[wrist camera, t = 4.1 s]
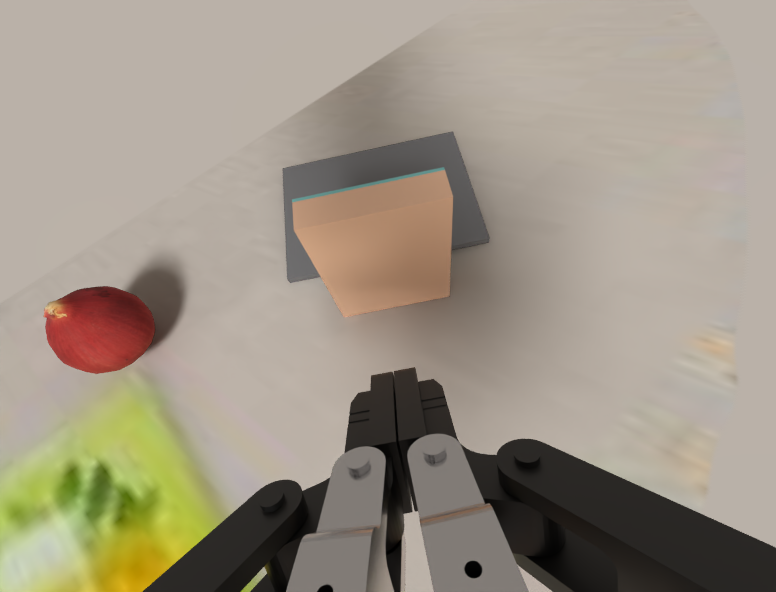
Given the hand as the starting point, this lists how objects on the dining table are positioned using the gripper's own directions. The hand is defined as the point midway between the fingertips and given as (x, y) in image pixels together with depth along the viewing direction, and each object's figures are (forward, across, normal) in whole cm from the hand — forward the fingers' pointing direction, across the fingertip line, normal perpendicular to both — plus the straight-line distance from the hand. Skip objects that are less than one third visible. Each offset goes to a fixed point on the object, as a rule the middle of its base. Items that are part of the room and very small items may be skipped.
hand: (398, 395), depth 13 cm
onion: (+16, +20, +2) cm, 26 cm away
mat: (+23, 0, -4) cm, 23 cm away
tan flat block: (+16, 0, +2) cm, 17 cm away
